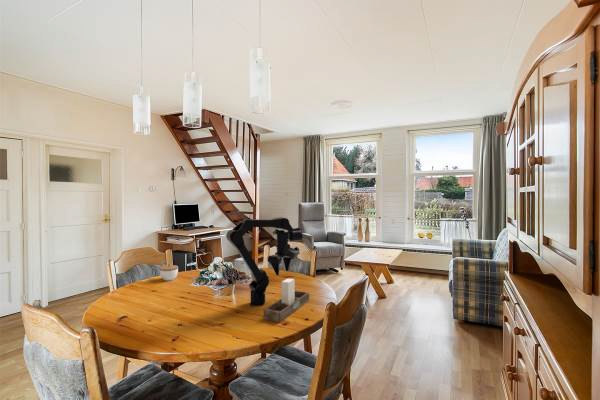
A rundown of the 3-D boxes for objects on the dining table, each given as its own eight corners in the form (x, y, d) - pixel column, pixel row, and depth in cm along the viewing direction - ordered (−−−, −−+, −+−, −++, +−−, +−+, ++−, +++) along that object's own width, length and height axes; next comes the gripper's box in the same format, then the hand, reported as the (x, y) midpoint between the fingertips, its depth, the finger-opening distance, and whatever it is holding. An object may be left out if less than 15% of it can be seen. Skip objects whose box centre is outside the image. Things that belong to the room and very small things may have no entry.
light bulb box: (246, 272, 207) (246, 256, 207) (253, 273, 203) (253, 257, 203) (234, 275, 199) (234, 258, 199) (240, 277, 194) (240, 260, 194)
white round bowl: (172, 282, 183) (172, 266, 183) (156, 281, 185) (155, 266, 185) (181, 277, 194) (181, 262, 194) (166, 276, 195) (166, 262, 195)
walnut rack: (263, 318, 128) (263, 309, 128) (294, 298, 153) (294, 290, 153) (280, 322, 124) (280, 312, 124) (309, 300, 150) (309, 292, 150)
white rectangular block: (281, 308, 137) (281, 281, 137) (288, 303, 142) (287, 278, 142) (288, 309, 135) (288, 282, 135) (294, 304, 141) (294, 279, 141)
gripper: (286, 246, 140) (286, 279, 140) (305, 240, 157) (305, 270, 157) (266, 244, 146) (266, 276, 146) (286, 239, 162) (286, 268, 162)
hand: (282, 273), depth 153 cm, fingers open, 9 cm apart
